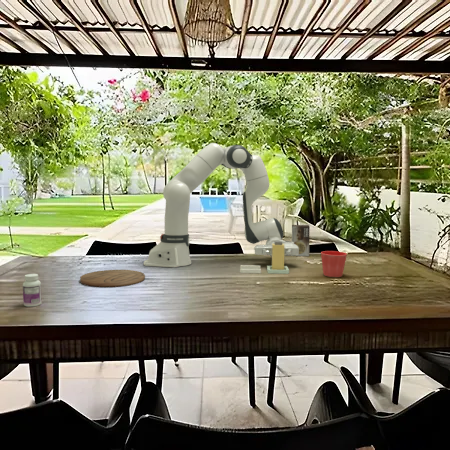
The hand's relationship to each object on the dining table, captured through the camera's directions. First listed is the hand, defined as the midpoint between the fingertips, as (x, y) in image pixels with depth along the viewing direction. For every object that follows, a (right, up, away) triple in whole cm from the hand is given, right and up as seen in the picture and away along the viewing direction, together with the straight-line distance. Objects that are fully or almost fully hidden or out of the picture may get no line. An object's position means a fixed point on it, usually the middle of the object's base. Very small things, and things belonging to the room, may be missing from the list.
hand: (277, 252), depth 197 cm
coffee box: (+17, -4, +39) cm, 43 cm away
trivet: (-68, -10, -22) cm, 72 cm away
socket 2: (0, -8, -3) cm, 8 cm away
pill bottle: (-85, -13, -57) cm, 103 cm away
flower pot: (+22, -9, -10) cm, 26 cm away
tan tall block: (0, -8, -3) cm, 8 cm away
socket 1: (-12, -8, -2) cm, 15 cm away
